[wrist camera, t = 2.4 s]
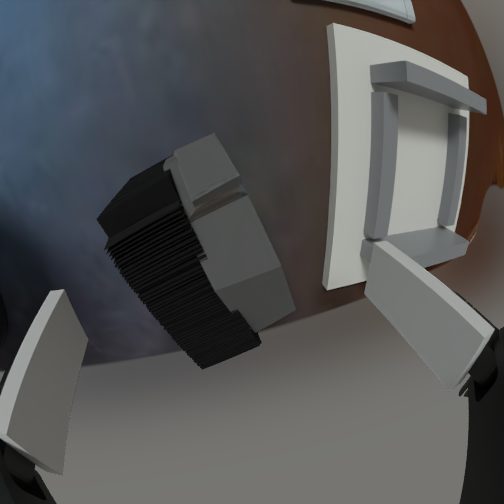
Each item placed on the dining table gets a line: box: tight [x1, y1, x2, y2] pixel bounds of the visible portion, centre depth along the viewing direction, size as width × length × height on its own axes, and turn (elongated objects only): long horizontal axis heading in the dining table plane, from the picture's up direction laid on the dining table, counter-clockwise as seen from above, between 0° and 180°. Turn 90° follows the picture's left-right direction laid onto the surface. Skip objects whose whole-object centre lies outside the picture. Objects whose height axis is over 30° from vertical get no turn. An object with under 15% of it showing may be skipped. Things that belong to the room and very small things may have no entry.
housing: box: [322, 23, 486, 290], centre depth 19 cm, size 18×22×5 cm
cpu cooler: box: [97, 133, 296, 369], centre depth 14 cm, size 10×6×10 cm, turn 22°
